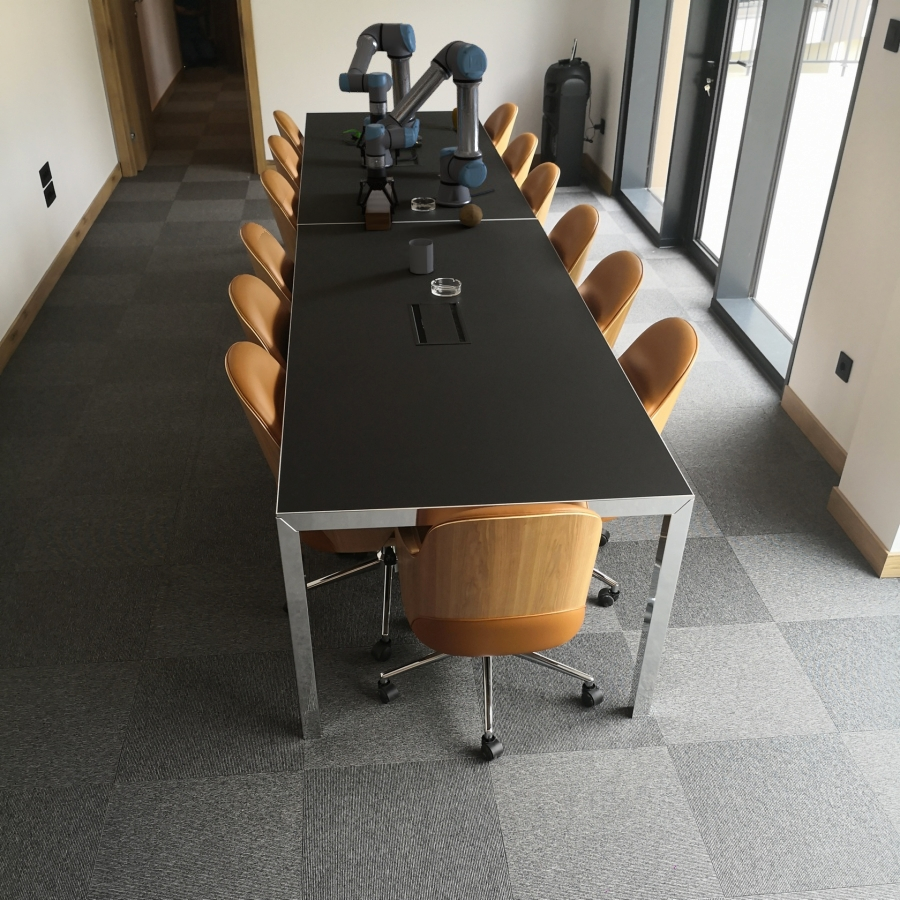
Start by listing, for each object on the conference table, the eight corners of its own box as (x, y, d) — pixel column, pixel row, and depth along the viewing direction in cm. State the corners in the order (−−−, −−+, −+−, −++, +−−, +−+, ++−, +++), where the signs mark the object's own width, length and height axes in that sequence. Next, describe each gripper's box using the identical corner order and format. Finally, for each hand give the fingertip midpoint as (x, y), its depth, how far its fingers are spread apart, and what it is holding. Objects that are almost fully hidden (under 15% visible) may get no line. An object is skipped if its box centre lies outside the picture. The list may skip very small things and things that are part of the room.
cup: (409, 265, 311) (408, 238, 306) (432, 265, 312) (431, 238, 307) (410, 274, 304) (409, 246, 299) (433, 273, 305) (433, 246, 299)
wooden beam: (372, 192, 388) (371, 177, 385) (393, 192, 388) (392, 177, 385) (366, 230, 345) (365, 212, 341) (390, 229, 345) (389, 212, 342)
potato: (480, 219, 356) (481, 200, 351) (484, 230, 344) (484, 210, 340) (457, 220, 355) (457, 200, 351) (459, 231, 343) (459, 211, 339)
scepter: (397, 126, 468) (342, 124, 466) (397, 141, 461) (341, 139, 459) (397, 135, 473) (342, 133, 471) (397, 150, 466) (341, 148, 463)
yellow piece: (471, 132, 486) (471, 108, 479) (451, 132, 486) (451, 108, 479) (470, 128, 495) (471, 104, 488) (452, 128, 495) (452, 104, 488)
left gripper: (348, 114, 359) (351, 166, 371) (408, 114, 360) (409, 166, 371) (349, 111, 365) (352, 162, 377) (408, 110, 366) (409, 162, 377)
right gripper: (347, 168, 336) (350, 225, 348) (404, 168, 337) (406, 225, 349) (348, 163, 342) (352, 219, 354) (404, 163, 343) (406, 219, 355)
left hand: (380, 164), depth 374 cm, fingers open, 13 cm apart
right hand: (378, 222), depth 352 cm, fingers closed on wooden beam, 10 cm apart
